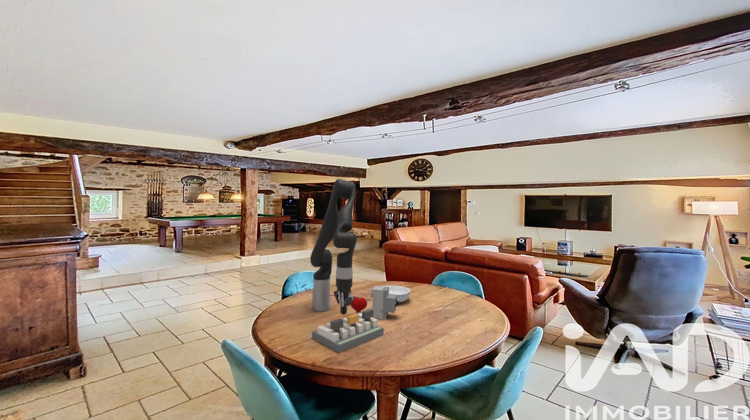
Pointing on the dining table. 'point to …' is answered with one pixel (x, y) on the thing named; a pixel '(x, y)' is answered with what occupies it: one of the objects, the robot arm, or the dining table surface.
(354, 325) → the handle
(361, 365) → the dining table surface
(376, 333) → the breaker panel
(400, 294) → the serving bowl
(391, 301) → the circuit breaker
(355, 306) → the red plush heart
